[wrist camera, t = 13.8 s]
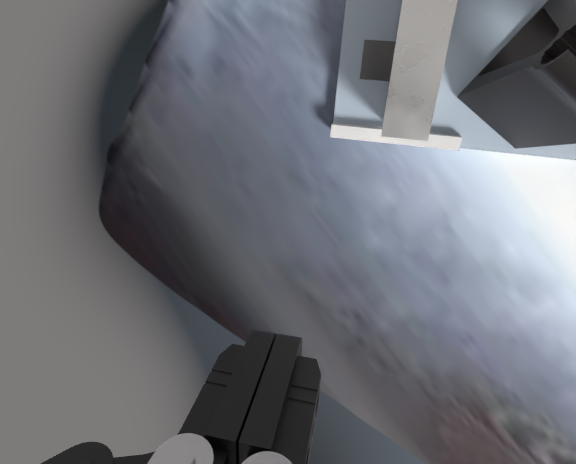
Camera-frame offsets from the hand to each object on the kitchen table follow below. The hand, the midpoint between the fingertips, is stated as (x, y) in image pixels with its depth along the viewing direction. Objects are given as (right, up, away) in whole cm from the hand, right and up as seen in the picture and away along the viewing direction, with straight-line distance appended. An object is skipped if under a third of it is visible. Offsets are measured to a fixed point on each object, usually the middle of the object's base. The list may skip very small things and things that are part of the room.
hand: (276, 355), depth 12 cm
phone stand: (+18, +15, +16) cm, 28 cm away
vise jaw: (+9, +16, +17) cm, 25 cm away
